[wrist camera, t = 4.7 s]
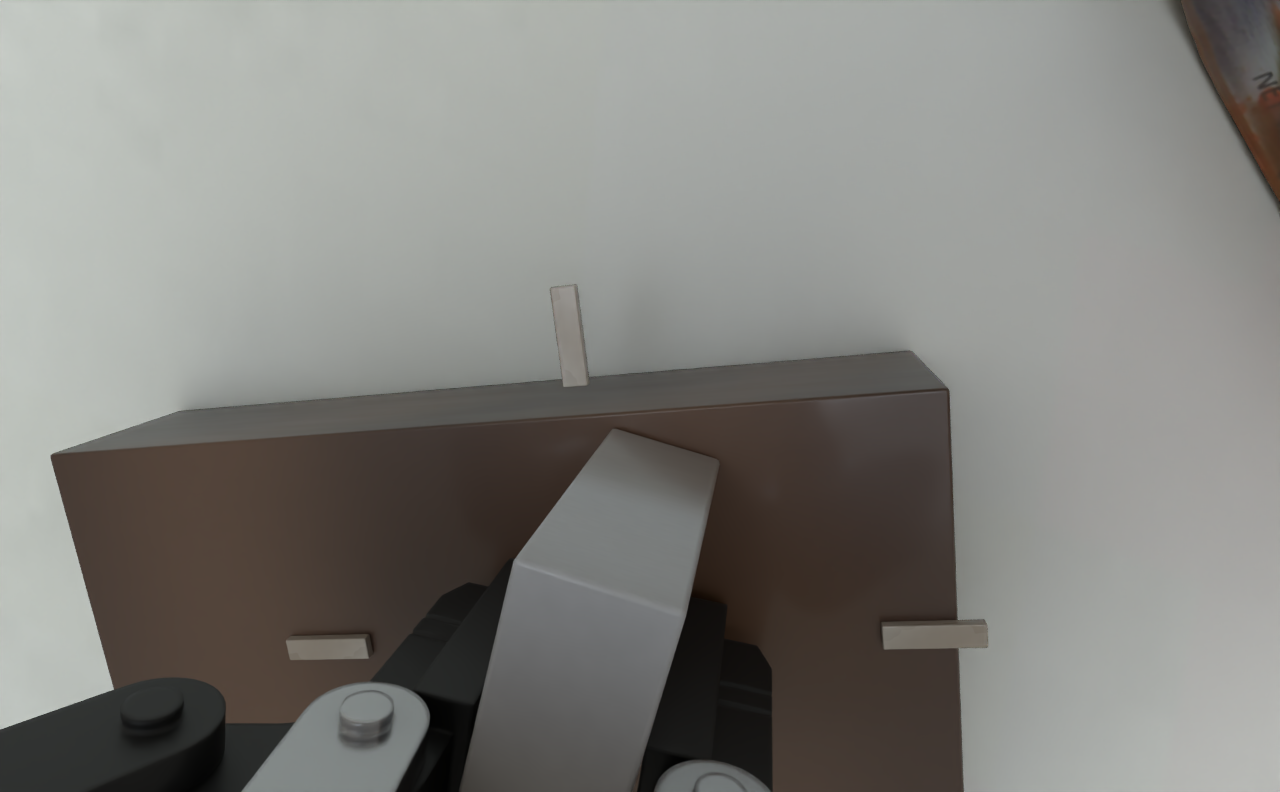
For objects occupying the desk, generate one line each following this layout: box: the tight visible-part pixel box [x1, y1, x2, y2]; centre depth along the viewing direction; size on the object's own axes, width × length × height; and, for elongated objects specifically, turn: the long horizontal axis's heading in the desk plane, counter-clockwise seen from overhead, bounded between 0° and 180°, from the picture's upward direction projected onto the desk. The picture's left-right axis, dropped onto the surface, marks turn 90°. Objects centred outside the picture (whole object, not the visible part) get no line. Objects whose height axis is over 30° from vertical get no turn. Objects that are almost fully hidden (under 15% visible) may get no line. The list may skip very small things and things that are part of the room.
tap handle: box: [459, 429, 720, 792], centre depth 10 cm, size 6×2×5 cm, turn 166°
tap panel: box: [51, 284, 988, 792], centre depth 14 cm, size 14×13×3 cm
